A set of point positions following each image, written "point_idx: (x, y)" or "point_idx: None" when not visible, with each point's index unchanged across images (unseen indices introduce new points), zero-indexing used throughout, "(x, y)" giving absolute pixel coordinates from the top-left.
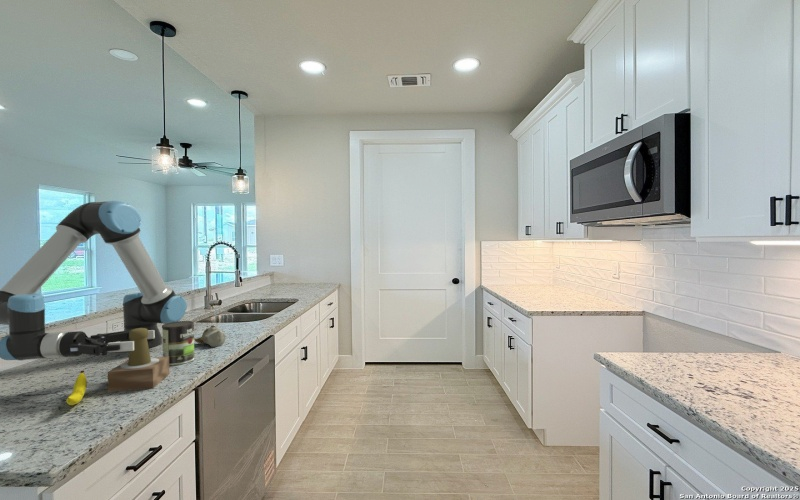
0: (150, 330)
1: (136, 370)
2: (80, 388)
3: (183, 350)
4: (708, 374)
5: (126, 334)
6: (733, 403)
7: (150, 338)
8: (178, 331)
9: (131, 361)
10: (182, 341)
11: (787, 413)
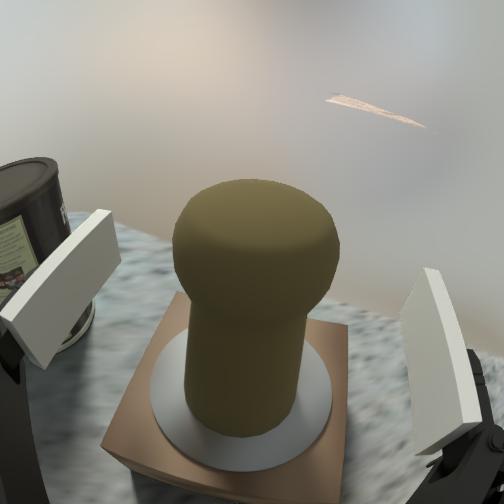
0: (87, 223)
1: (346, 381)
2: None
3: None
4: (367, 106)
5: (2, 371)
6: (401, 118)
7: (111, 272)
8: (54, 199)
9: (289, 402)
10: (69, 235)
11: (409, 119)
